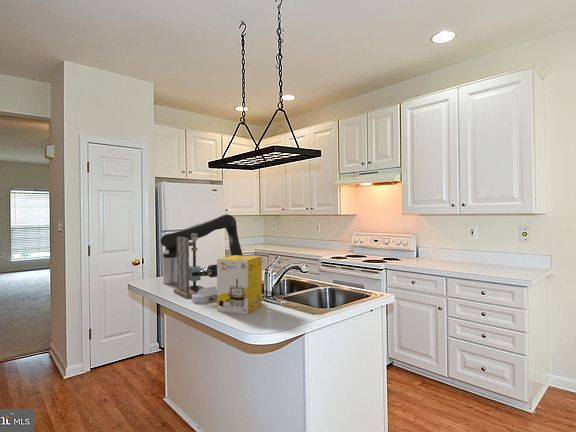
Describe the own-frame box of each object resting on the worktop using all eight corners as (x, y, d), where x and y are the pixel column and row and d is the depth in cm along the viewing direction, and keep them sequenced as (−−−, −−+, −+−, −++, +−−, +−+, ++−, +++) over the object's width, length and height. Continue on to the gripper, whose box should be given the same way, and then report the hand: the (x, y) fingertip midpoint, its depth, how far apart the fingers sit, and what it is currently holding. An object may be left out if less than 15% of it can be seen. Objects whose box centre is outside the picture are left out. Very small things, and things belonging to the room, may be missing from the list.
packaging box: (217, 311, 171) (216, 259, 171) (233, 302, 187) (233, 255, 186) (247, 314, 166) (247, 260, 166) (261, 305, 181) (261, 256, 181)
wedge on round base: (210, 297, 199) (188, 300, 191) (210, 285, 199) (188, 288, 191) (218, 300, 192) (196, 304, 184) (218, 287, 192) (196, 291, 184)
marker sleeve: (188, 279, 209) (188, 266, 209) (196, 278, 212) (196, 265, 212) (192, 281, 205) (191, 267, 205) (200, 280, 208) (200, 266, 208)
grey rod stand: (174, 292, 210) (173, 233, 210) (199, 288, 220) (199, 232, 219) (185, 298, 196) (185, 235, 195) (212, 294, 206) (212, 233, 205)
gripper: (211, 263, 223) (185, 265, 212) (222, 265, 211) (195, 268, 201) (211, 275, 223) (185, 278, 212) (222, 278, 211) (195, 282, 201)
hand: (190, 273), depth 207 cm, fingers closed on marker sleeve, 5 cm apart
